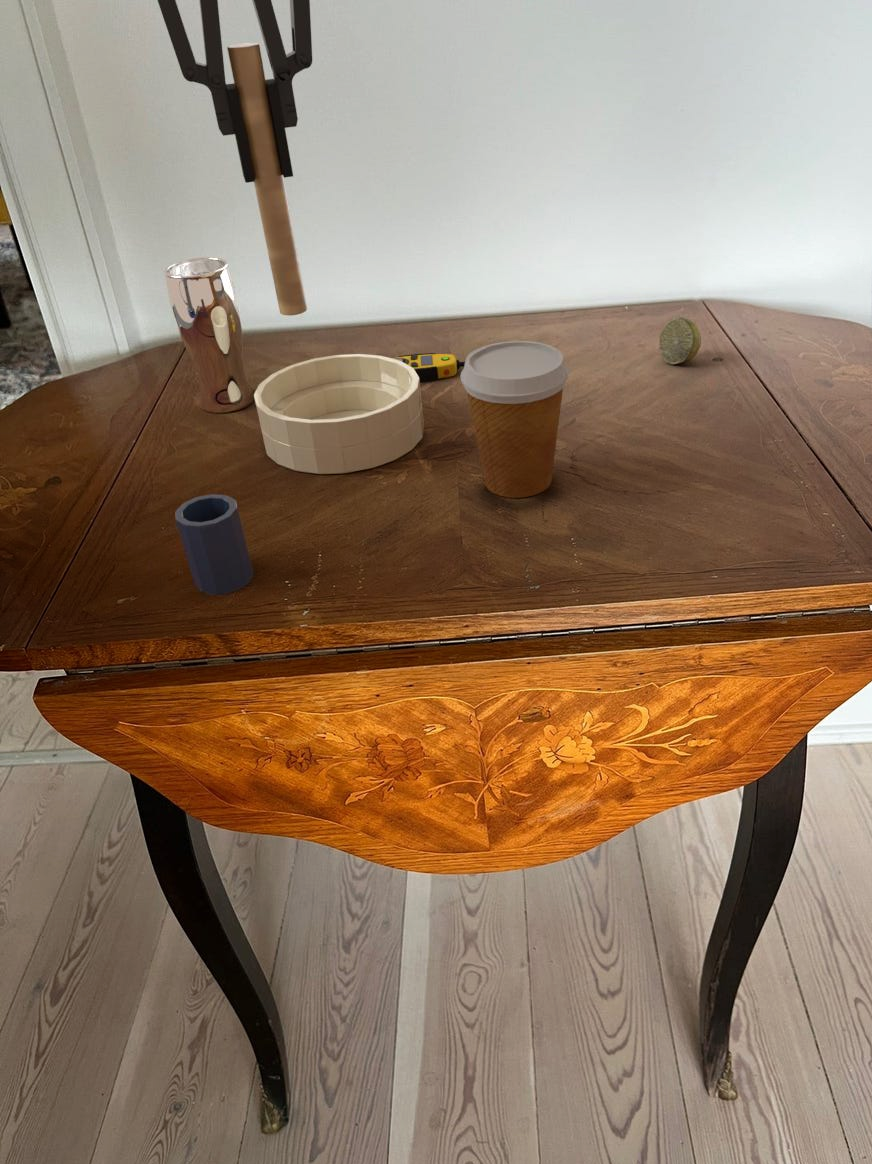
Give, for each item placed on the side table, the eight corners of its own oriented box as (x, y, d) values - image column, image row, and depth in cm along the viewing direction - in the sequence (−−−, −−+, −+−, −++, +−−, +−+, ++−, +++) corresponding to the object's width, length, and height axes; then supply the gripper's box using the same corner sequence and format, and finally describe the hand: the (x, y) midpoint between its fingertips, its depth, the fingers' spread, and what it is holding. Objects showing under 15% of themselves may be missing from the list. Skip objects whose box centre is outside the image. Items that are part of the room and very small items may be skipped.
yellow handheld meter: (378, 354, 112) (505, 343, 112) (380, 369, 113) (506, 358, 113) (378, 370, 108) (509, 358, 108) (380, 386, 109) (509, 375, 110)
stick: (281, 317, 83) (227, 48, 70) (278, 308, 84) (226, 45, 72) (308, 313, 83) (260, 45, 70) (305, 304, 85) (257, 41, 72)
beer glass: (240, 383, 112) (210, 252, 103) (269, 401, 108) (241, 265, 98) (186, 402, 109) (150, 268, 99) (214, 420, 104) (179, 282, 95)
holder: (198, 603, 77) (176, 530, 73) (195, 572, 81) (174, 500, 76) (257, 591, 78) (239, 518, 74) (251, 561, 82) (234, 489, 77)
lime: (696, 370, 108) (700, 326, 105) (654, 367, 109) (656, 324, 106) (702, 355, 111) (705, 312, 108) (660, 352, 112) (663, 310, 109)
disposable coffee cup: (543, 449, 95) (541, 331, 87) (585, 492, 88) (587, 367, 80) (453, 470, 92) (444, 351, 85) (490, 516, 85) (482, 390, 78)
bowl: (275, 492, 91) (263, 434, 87) (258, 422, 104) (247, 369, 100) (441, 461, 94) (436, 404, 90) (405, 396, 107) (399, 344, 103)
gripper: (304, -216, 66) (354, 154, 81) (76, -201, 64) (170, 178, 78) (318, -228, 61) (369, 173, 75) (68, -212, 58) (171, 199, 73)
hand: (268, 175), depth 77 cm, fingers closed on stick, 2 cm apart
